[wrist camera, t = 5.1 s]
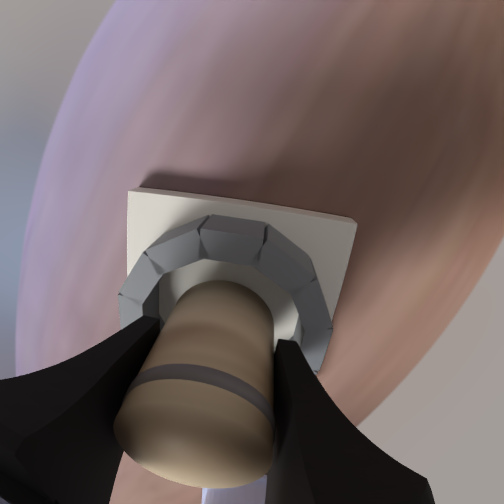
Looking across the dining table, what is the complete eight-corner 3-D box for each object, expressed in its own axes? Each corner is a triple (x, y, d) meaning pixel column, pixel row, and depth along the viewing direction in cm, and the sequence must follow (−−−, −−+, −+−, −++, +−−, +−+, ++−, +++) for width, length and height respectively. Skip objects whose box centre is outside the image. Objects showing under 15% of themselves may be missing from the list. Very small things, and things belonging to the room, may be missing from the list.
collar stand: (305, 382, 15) (309, 424, 13) (140, 355, 16) (120, 391, 13) (351, 218, 12) (373, 240, 10) (138, 187, 12) (103, 200, 10)
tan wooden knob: (262, 374, 13) (255, 497, 7) (168, 353, 13) (120, 466, 7) (286, 292, 11) (296, 423, 6) (176, 268, 11) (102, 377, 6)
